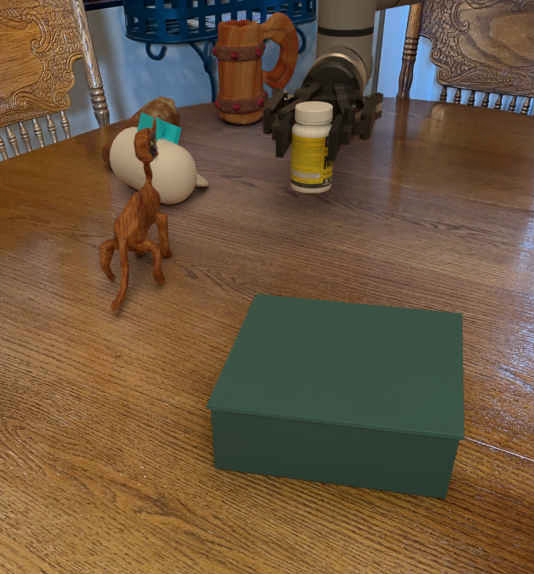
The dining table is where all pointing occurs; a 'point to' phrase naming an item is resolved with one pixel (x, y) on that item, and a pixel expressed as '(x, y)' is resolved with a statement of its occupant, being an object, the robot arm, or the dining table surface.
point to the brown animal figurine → (138, 222)
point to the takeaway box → (342, 395)
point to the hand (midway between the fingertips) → (305, 145)
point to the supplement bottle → (311, 148)
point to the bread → (154, 108)
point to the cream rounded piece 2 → (157, 162)
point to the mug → (252, 65)
